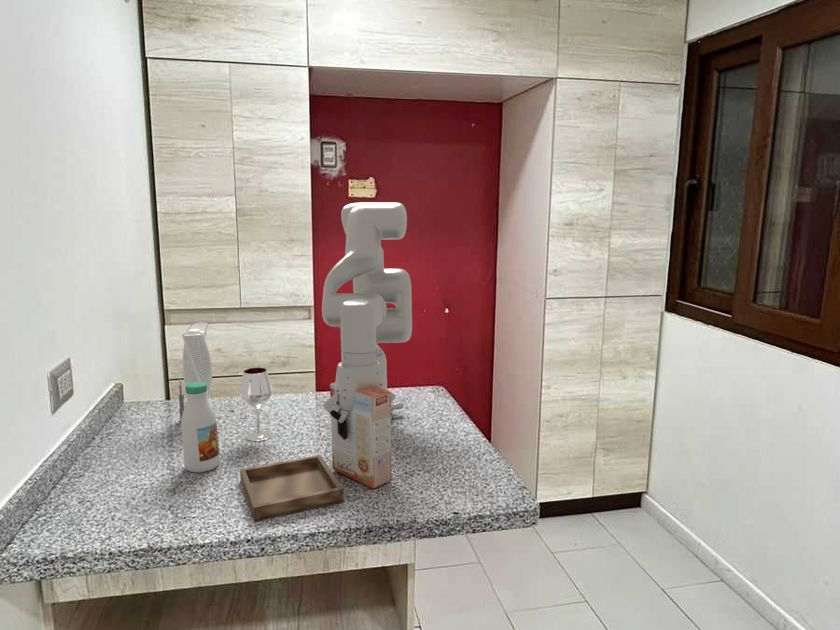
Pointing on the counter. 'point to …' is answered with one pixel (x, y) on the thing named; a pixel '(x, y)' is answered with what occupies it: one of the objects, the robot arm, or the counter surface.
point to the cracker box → (364, 438)
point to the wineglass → (256, 396)
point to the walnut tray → (290, 487)
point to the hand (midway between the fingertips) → (360, 433)
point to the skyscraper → (195, 362)
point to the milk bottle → (199, 430)
